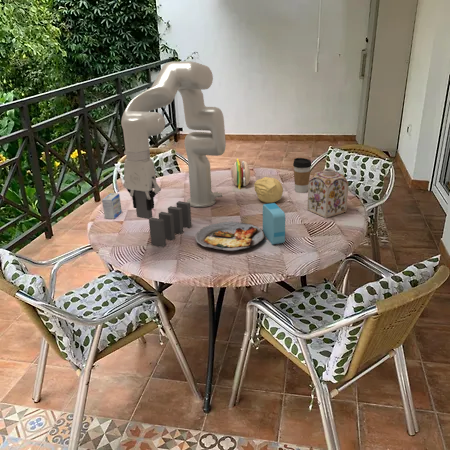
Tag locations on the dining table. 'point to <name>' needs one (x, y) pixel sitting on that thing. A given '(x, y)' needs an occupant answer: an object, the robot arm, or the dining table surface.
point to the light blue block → (274, 223)
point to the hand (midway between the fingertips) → (143, 207)
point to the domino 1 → (142, 205)
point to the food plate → (230, 236)
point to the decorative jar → (327, 193)
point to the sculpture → (268, 189)
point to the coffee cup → (301, 174)
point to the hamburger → (241, 173)
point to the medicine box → (112, 206)
